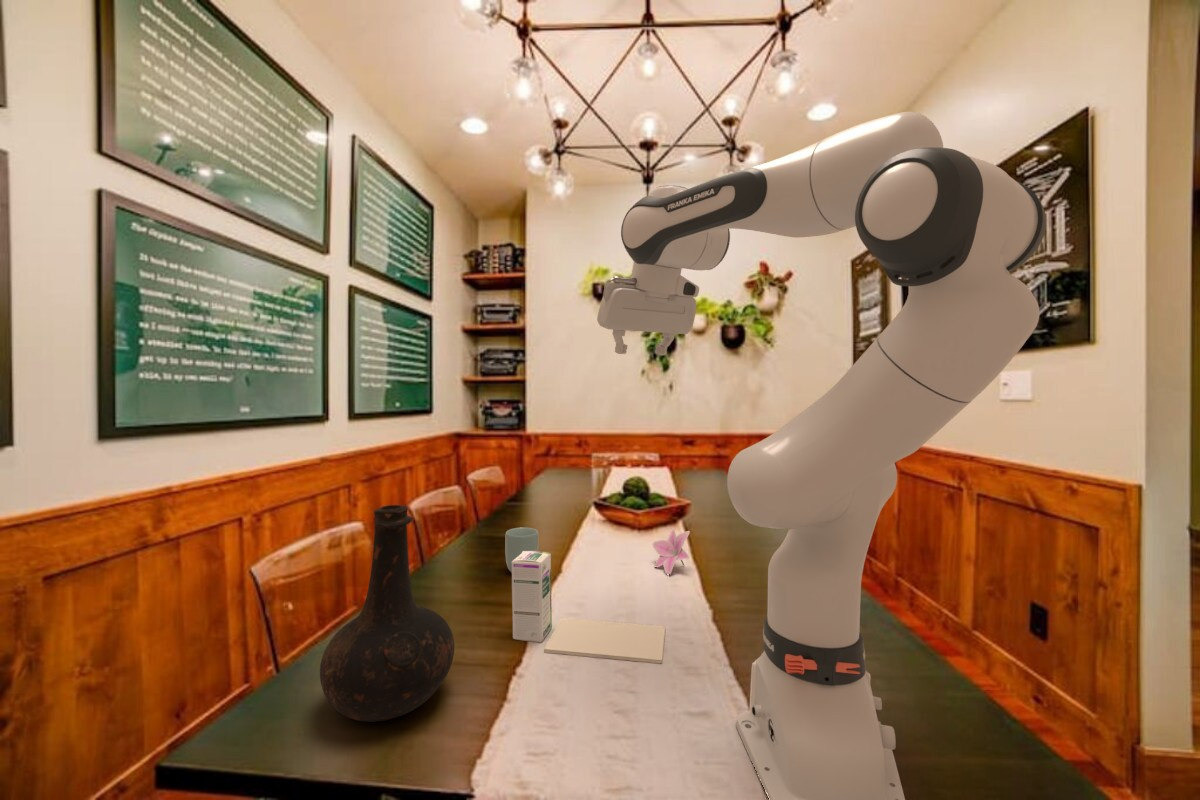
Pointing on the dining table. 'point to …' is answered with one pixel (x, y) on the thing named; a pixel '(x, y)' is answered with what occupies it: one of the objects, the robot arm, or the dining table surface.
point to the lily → (671, 550)
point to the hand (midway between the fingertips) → (640, 354)
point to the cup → (519, 543)
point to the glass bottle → (387, 637)
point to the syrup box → (531, 596)
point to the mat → (608, 640)
